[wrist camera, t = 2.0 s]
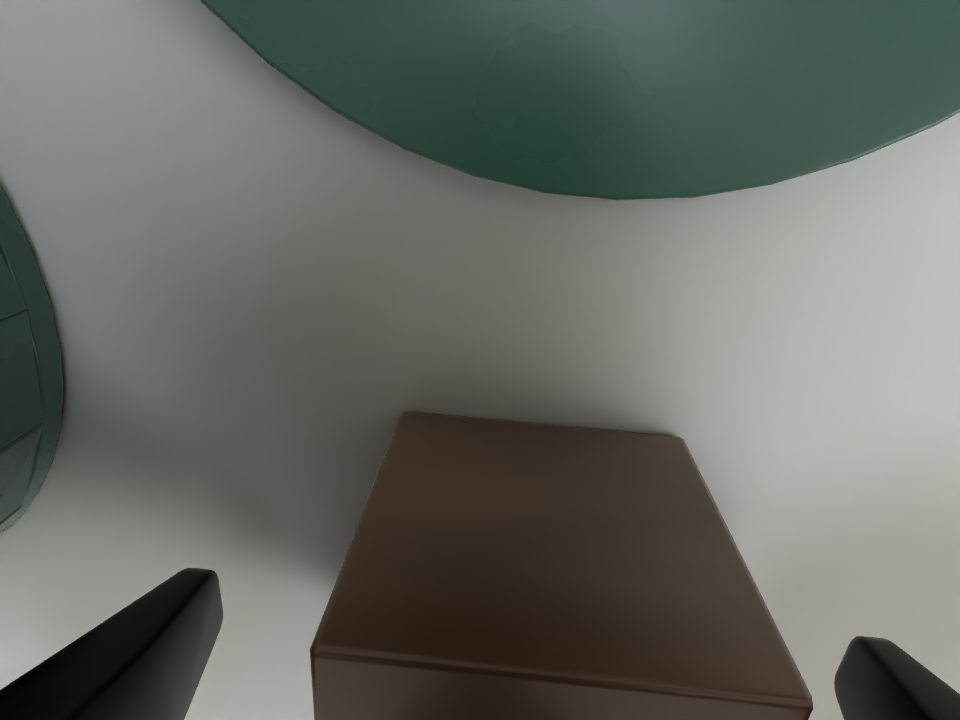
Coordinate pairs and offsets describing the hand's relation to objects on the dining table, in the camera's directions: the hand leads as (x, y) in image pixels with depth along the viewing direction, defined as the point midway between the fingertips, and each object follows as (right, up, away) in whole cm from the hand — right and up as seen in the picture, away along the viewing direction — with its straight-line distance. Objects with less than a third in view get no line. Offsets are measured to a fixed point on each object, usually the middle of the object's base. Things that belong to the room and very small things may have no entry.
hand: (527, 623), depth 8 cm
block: (0, +1, +2) cm, 2 cm away
